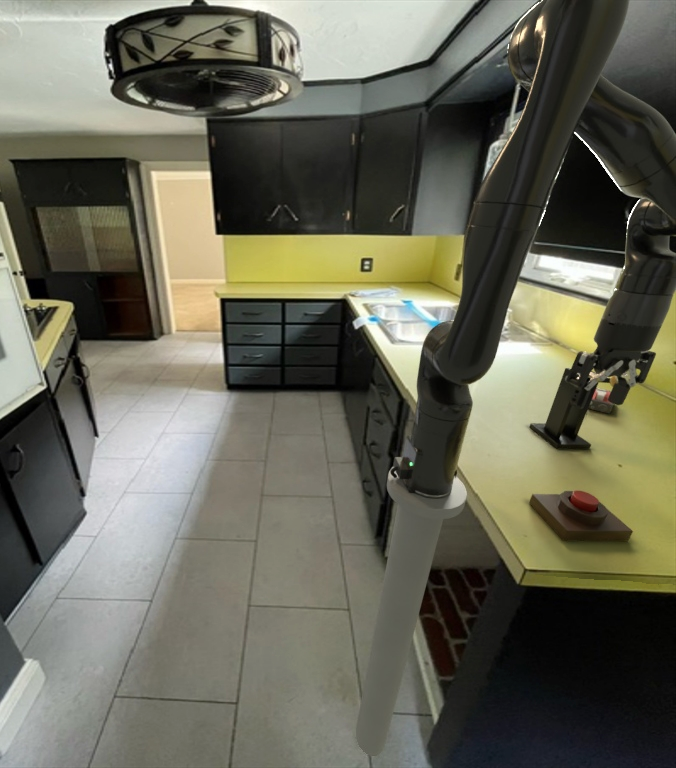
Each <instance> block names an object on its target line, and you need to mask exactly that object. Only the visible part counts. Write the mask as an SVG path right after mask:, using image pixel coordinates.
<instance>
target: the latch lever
mask: <svg viewBox="0 0 676 768" xmlns="http://www.w3.org/2000/svg"><path fill="white" fill-rule="evenodd" d="M590 379H592V378H587V380H586V383H587V382H588V381H589V380H590ZM600 383H602V384H609V385H610V386H611V387H612V388H613V386H614V384H615V383H618V382H616V378H615V376H611V377H607V378H606V379H605V380H604V381H602V382H600Z"/></svg>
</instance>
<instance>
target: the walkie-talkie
mask: <svg viewBox="0 0 676 768" xmlns="http://www.w3.org/2000/svg"><path fill="white" fill-rule="evenodd" d="M611 391H612V390H607V389H603V388H599V387H597V388H596V390H595V393H594V395H593V398H592V400H591V403H590V405H589V408H588V409H589V410H592V411H596V412H601V413H604V414H611V412H612V411H613V409H614V405H615V404H613V403H611V402H609V401H608V398H609V395H610V393H611Z"/></svg>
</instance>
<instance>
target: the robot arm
mask: <svg viewBox="0 0 676 768" xmlns="http://www.w3.org/2000/svg"><path fill="white" fill-rule="evenodd" d="M629 5H630V0H540V1H539V2H537V3H536V4H535V5H534V6H532V7H531V9H529V10H528V11H527V12H526V13H525V14H524V15H523V16H522V17H521V18H520V19H519V21H518V22H517V24H516V25H515V27H514V29H513V31H512V33H511V36H510V39H509V42H508V45H507V64H508V68H509V71H510V73H511V75H512V76H513V78H514V79H515V80H516V81H517V82H518V83H519V85H520V86H522V88H524V89H525V90H526V91H527V92H528V95H527V98H526V101H525V103H524V106H523V109H522V111H521V113H520V116H519V118H518V121H517V123H516V124H515V127H514V128H513V130H512V132H511V133H510V135H509V137H508V139H507V140H506V142H504V144H503V146H502V148H501V149H500V152H499V153H498V154H497V156H496V158H495V159H494V161H493V162H492V164H491V166H490V167H489V169H488V171H487V172H486V174H485V176H484V177H483V179H482V182H481V183H480V185H479V187H478V190H477V192H476V194H475V198H474V201H473V204H472V206H471V210H470V212H469V217H468V220H467V223H466V227H465V230H464V235H463V240H462V248H461V261H462V262H461V293H460V297H459V301H458V306H457V309H456V312H455V315H454V318H453V319H452V320H451V319H450V320H444V321H442V322H440V323H438V324H436V325H434V326H433V327H432V328H431V329H430V330H429V332H428V333H427V334H426V336H425V338H424V340H423V343H422V347H421V351H420V356H419V362H418V369H417V370H418V371H417V376H416V377H417V379H416V395H417V399H416V407H415V410H414V411H415V412H414V417H413V421H412V427H411V433H410V435H407V436H406V437H405V440H404V441H405V442H404V448H403V453H402V456H394V459H393V465H392V467H394V468H392V467H391V468H392V469H391V468H390V470H391V471H390V470H389V471H390V473H391V475H392V476H393V477H394V478H396V477H397V475H398V477H399V479H402V480H403V483H404V484H405V486H406V488H407V490H408V492H409V493H415V494H418V495H420V496H423V497H426V498H432V499H440V498H444V497H447V496H448V495H449V494H450V493H451V490H452V484H453V480H454V476H455V479H456V477H457V476H458V475H457V474H458V470H457V469H458V468H457V467H458V464H459V461H460V457H461V452H462V449H463V445H464V441H465V437H466V433H467V430H468V426H469V422H470V418H471V414H472V411H473V406H474V400H473V397H472V395H471V391H470V386H469V385H472V384H474V383H477V382H478V381H479V380H481V379H482V378H484V376H485V375H486V374H487V373H488V372H489V370H490V369H491V368H492V366H493V363H494V362H495V359H496V356H497V352H498V349H499V344H500V342H501V337H502V333H503V329H504V327H505V323H506V319H507V318H506V317H507V314H508V311H509V308H510V303H511V301H512V298H513V296H514V293H515V290H516V288H517V285H518V282H519V279H520V277H521V274H522V271H523V269H524V265H525V263H526V260H527V257H528V254H529V252H530V249H531V247H532V245H533V242H534V240H535V237H536V236H537V233H538V230H539V227H540V225H541V222H542V219H543V217H544V215H545V212H546V209H547V206H548V203H549V200H550V197H551V195H552V191H553V188H554V186H555V183H556V181H557V178H558V175H559V172H560V170H561V168H562V165H563V163H564V159H565V158H566V155H567V152H568V149H569V147H570V145H571V143H572V140H573V137H574V134H575V135H576V136H577V137H578V138H579V139H580V140H581V141H583V143H584V144H585V145H586V146H587V147H588V148H589V150H590V151H591V152H592V153H593V154H594V155H595V157H596V158H597V159H598V161H599V162H600V164H601V165H602V167H603V168H604V169H605V171H606V173H607V174H608V175H609V177H610V178H611V179H612V180H613V182H614V183H615V185H616V186H617V187H618V189H619V190H620V192H622V193H623V194H624V195H626V196H628V197H632V198H639V200H638V201H637V202H636V204H635V205H634V207H633V208H632V210H631V213H630V214H629V217H628V221H627V226H626V236H625V237H626V239H625V248H624V249H625V250H624V258H625V259H624V260H625V261H624V265H623V267H622V270H621V273H620V276H619V277H618V280H617V283H616V285H615V288H614V290H613V292H612V294H611V296H610V297H609V299H608V301H607V303H606V306H605V308H604V311H603V313H602V316H601V318H600V320H599V324H598V327H597V329H596V331H595V334H594V336H593V341H594V343H595V344H596V347H595V348H596V349H595V350H594V351H593V352H586V351H582V350H580V351H579V352H577V354H576V355H575V358H574V361H573V362H572V365H571V367H570V369H571V370H570V372H569V375H568V377H567V379H566V382H568V383H570V384H572V385H574V386H575V388H574V391H573V393H572V396H571V398H570V404H571V405H572V406H574V407H576V408H584V406H585V404H586V401H587V399H588V396H589V394H590V392H591V391H590V389H591V388H592V387H593V386H594V385H595V384H596V383H598V382H599V383H601V382H602V381H604V380H605V379H606V378H611V377H612V376H615V378H616V382H618V383H615V384H614V386H613V387H612V389H611V390H610V391H611V393H610V395H609V398H608V401H609V402H611V403H613V404H614V405H616V406H623V405H624V403H625V400H626V399H627V396H628V394H629V393H630V390H631V388H634V387H635V386H636V385H637V384H644V383H645V382H646V380H647V378H648V376H649V372H650V370H651V367H652V365H653V363H654V360H655V358H656V356H657V353H656V351H651V349H652V348H653V346H654V344H655V341H656V339H657V337H658V335H659V332H660V331H661V328H662V326H663V324H664V321H665V320H666V318H667V316H668V313H669V311H670V308H671V304H672V300H673V297H674V294H675V292H676V252H674V251H672V250H671V249H670V237H676V133H675V131H674V129H673V128H672V126H671V124H670V123H669V122H668V121H667V119H666V117H665V116H664V115H663V114H661V113H660V112H659V111H658V110H657V109H656V108H654V107H653V106H651V105H650V104H648V103H647V102H645V101H643V100H642V99H639V98H638V97H636V96H634V95H632V94H630V93H629V92H627V91H625V90H623V89H621V87H619V86H617V85H615V84H613V83H612V82H611V81H610V80H609V79H607V78H606V77H604V75H603V74H602V73H603V71H604V69H605V67H606V65H607V62H608V60H609V59H610V57H611V54H612V52H613V50H614V48H615V46H616V43H617V41H618V39H619V37H620V35H621V32H622V30H623V27H624V25H625V21H626V18H627V14H628V12H629ZM637 370H639V371H640V372H639V374H638V372H637ZM591 371H593V372H595V373H593V372H591ZM577 373H580V376H579V377H578V378H577V379H576V378H575V377H576V375H577ZM596 373H597V374H596ZM587 378H592V379H590V380H589V381H588V382H587V383H586V380H587ZM599 383H598V384H599ZM395 471H396V473H397V475H396V474H395V473H394V472H395Z"/></svg>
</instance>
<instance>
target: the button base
mask: <svg viewBox="0 0 676 768" xmlns="http://www.w3.org/2000/svg"><path fill="white" fill-rule="evenodd" d="M574 491H575V490H564V491H562V492H561V493H532V494H531V497H530V499H529V502H528V503H529V505H530V506H531V507H532V508H533V509H534V510H535V512H536V513H538V515H540V517H541V518H542V519H543V520H544V521H545V522H546V523H547V525H548V526H550V528H551V529H552V530H553V531H554V532H555V533H556V534H557V535H558V536H559V537H560V539H561V540H562V541H599V542H600V541H607V542H609V541H611V542H615V541H618V542H620V541H621V542H623V541H624V542H625V541H626V542H628V541H629V540H630V538H631V536H632V534H633V533H634V530H633V529H632V528H630V526H628V525H627V524H625V523H624V522H623V521H622V520H621V519H620V518H619V517H617V516H616V515H615V514H614V513H613V512H611V510H609V509H608V508H607V507H606V505H604V504H603V503H601V502H600V501H599V504H598V506H597V508H596V510H595V511H594V512H588V511H584V510H581V509H579V508H577V507H575V506H574V505H573V504H572V503H570V498H571V496H572V494H573V492H574Z"/></svg>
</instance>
